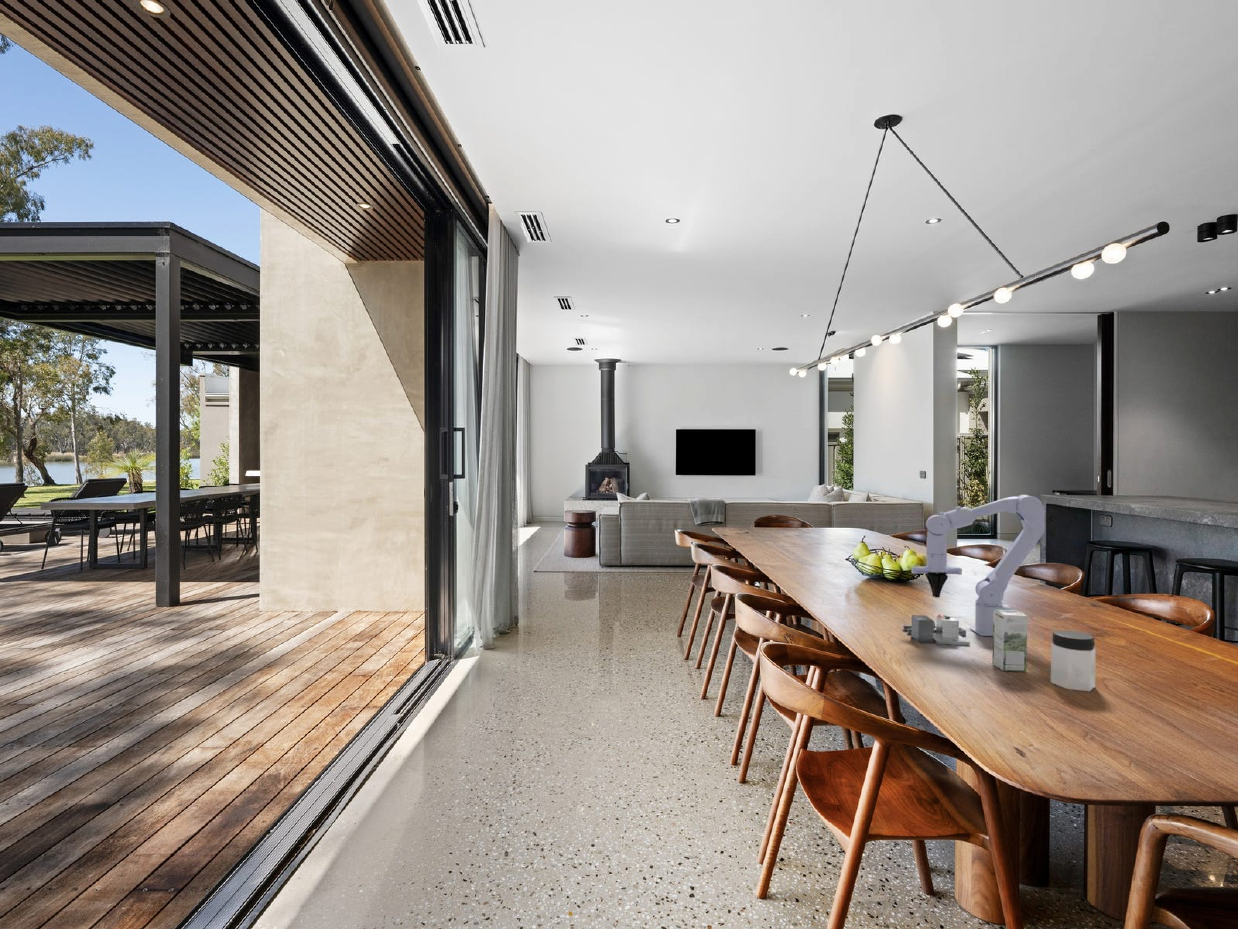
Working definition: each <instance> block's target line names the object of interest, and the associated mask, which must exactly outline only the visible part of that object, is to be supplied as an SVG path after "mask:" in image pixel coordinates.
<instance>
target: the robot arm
mask: <svg viewBox="0 0 1238 929" xmlns="http://www.w3.org/2000/svg"><path fill="white" fill-rule="evenodd" d="M1003 512H1004V513H1010V514H1016V515H1017V517H1019V519H1020V523H1021V525H1022V527H1023V528H1022V530H1021V531H1020V533H1019V534H1018V536H1016V538H1015V540H1014V541H1013V543H1012V544H1011V545H1010V546H1009V548H1008V550H1006V552H1005V554H1004V555H1003V556H1002V558H1001V559H1000V560H999V562H998V563H997V564H996V566H995V567H994V569H993V570H992V571H991V572H989V573H988V574H987V575H986V577H985V578H984V579H982V580H980V581H978V582H977V583H976V585H975V587H974V588H975V594H976V595H977V596H978V597H977V599H976V600H975V604H974V605H975V610H974V611H975V612H974V613H975V615H974V618H975V620H974V621H975V622H974V623H975V624H974V626H975V627H973V626H972V627H971V626H970V627H969V630H971V631H972V632H974V633H976V634H978V635H979V636H982V637H983V636H985V637H993V611H994V610H1012V608H1011V607H1010V606H1009V605H1008V604H1004V603H1003V600H1004V594H1005V592H1006V591H1007V590H1006V589H1008V585H1009V582H1010V580H1011V578H1012V577H1013V576H1014V575H1015V573H1016V572H1017V571H1018V569H1019V568H1020V567H1021V565H1022V564H1023V563H1024V561H1025V560H1026V558H1027V557H1028V555H1029V554H1030V553H1031V551H1032V550H1033V549H1034V547H1035V546H1036V544H1037V543H1038V542H1039V540H1040V539H1041V538H1042V537H1043V535H1044V533H1045V531H1046V530H1045V529H1046V527H1045V515H1046V509H1045V507H1044V505H1043V503H1042V501H1041V500H1040V499H1039V498H1038V497H1036V496H1031V495H1029V494H1019V495H1017V496H1015V495H1014V496H1008V497H1004V498H1001V499H997V500H995V501H991V502H989V503H985V504H983V505H980V506H976V507H974V508H969V507H966V506H963V507H962V506H961V505H958V506H956V507H955V509H953V510H952V509H951V510H949V511H946V512H944V511H940V512H939V514H940V515H938V514H933V515H931V516H929V517H928V518H927V520H926V522H925V526H926V527H925V528H926V529H927V532H926V556H925V557H926V561H925V562H926V565H924V566H923V565H920V566H911V567H910V568H911V574H913V575H914V574H915V575H917V574H925V578H926V579H927V581H928V583H929V586H930V589H931V593H932V594H931V595H932V597H933V598H940V597H941V593H942V591H943V590H942V589H943V587H944V585H945V583H946V582H947V580H948V578H949V576H948V575H959V576H961V575H963V569H962V567H957V566H956V567H955V566H947V565H948V563H947V562H948V560H947V558H948V556H947V555H948V554H947V552H948V551H947V550H948V541H947V532H948V531H953V530H957V529H960V528H961V529H962V528H963V527H968V526H970V525H973V524H974V521H975V520H976V519H981V518H983V517H988V516H992V515H995V514H999V513H1003Z"/></svg>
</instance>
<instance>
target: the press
mask: <svg viewBox="0 0 1238 929" xmlns="http://www.w3.org/2000/svg"><path fill="white" fill-rule="evenodd" d="M902 628H903V631H904V632H907V633H908V634H907V635H911V638H912V637H913V639H914V640H915V641H916V640H917V641H918V643H919V642H924V643H925V642H926V643H925V644H933V643H934V644H935V643H936V645H937V644H951V645H950V646H966V645H970V646H971V642H970V641H969V640H967V639H966V638H965V637H964V636H966V635H967V630H966V629H964V628H962V627H960V626H959V640H954V639H942V638H940V637H939V636H937V635H936V629H935V628H937V625H936V623H935V621H934V620H933V619H931V618H930V617H929V616H928V615H922V614H921V615H919V614H918V615H917V614H914V615H913V614H912V615H911V625H906V624H905V625H903V626H902ZM917 641H916V642H917Z"/></svg>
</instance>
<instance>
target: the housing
mask: <svg viewBox="0 0 1238 929" xmlns="http://www.w3.org/2000/svg"><path fill="white" fill-rule="evenodd" d="M936 626H937V628H936V635H937V636H939V637H940V638H942V639H954V640H959V627H960V620H958V619H957V618H955V617H953V616H949V615H945V617H940V616H938V615H937V616H936Z"/></svg>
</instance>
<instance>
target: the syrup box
mask: <svg viewBox="0 0 1238 929" xmlns="http://www.w3.org/2000/svg"><path fill="white" fill-rule="evenodd" d="M1028 617H1029V616H1027V614H1025V613H1023V611H1020V610H1016V609H1015V610H1014V609H1011V610H994V611H993V636H992V658H991V659H992V660H991V661H992V664H994V665H993V666H995V668H996V667H997V668H998V667H999V668H1000V669H999V668H998V669H999V670H1001V671H1003V672H1020V673H1021V672H1025V673H1026V672H1027V659H1028V658H1027V657H1028V656H1027V654H1028V653H1027V650H1028Z"/></svg>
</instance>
